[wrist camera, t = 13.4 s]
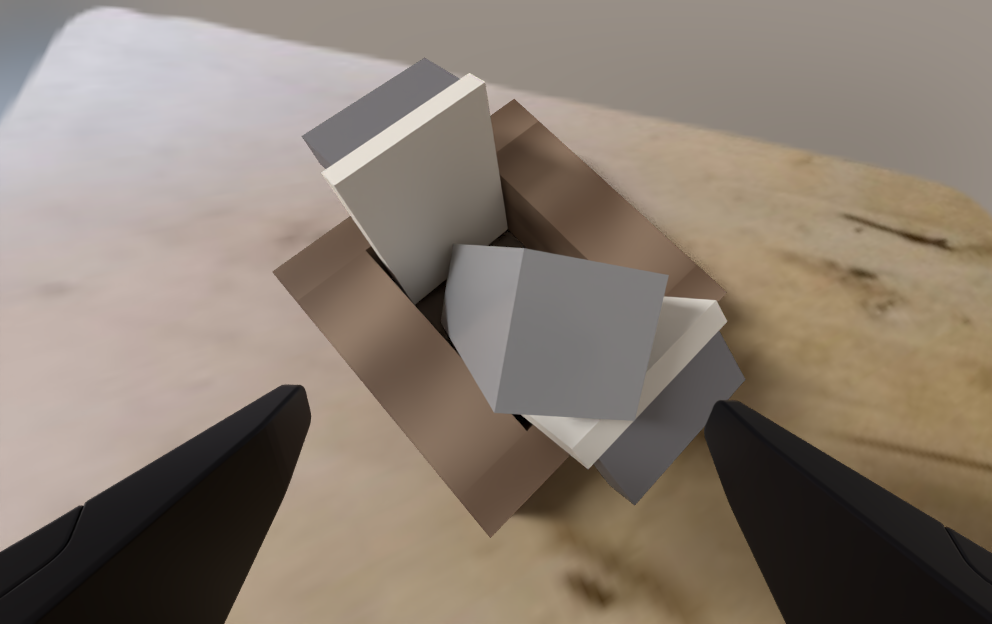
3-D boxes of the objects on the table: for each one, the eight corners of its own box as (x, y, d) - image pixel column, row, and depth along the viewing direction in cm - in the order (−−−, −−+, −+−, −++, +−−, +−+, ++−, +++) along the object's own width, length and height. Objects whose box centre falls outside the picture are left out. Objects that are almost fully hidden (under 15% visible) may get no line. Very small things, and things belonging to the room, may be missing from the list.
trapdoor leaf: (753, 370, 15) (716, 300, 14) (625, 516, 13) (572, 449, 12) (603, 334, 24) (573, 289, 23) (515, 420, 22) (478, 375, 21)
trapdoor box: (682, 316, 24) (727, 292, 19) (487, 513, 20) (490, 538, 16) (508, 151, 26) (514, 98, 22) (311, 300, 23) (272, 272, 19)
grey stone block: (514, 331, 23) (635, 420, 12) (440, 322, 22) (494, 412, 10) (527, 257, 22) (668, 275, 11) (452, 243, 21) (524, 247, 10)
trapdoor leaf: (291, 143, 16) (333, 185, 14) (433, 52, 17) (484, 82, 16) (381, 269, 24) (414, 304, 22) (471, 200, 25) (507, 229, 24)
